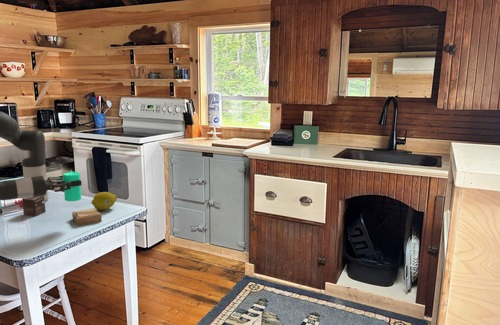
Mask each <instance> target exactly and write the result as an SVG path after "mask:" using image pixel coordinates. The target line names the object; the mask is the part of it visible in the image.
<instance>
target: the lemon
mask: <svg viewBox="0 0 500 325" xmlns="http://www.w3.org/2000/svg"><path fill="white" fill-rule="evenodd" d="M117 199H118V197H117V195H116V194H113V193H111V192H108V191H102V192H98V193H96V194H95V195H94V196H93V198H92V200H91V204H92V205H93V208H95V209H96V210H97V211H106V210H108V209H110V208H112V207H113V206H114V205H115V203H116V202H117Z"/></svg>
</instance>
